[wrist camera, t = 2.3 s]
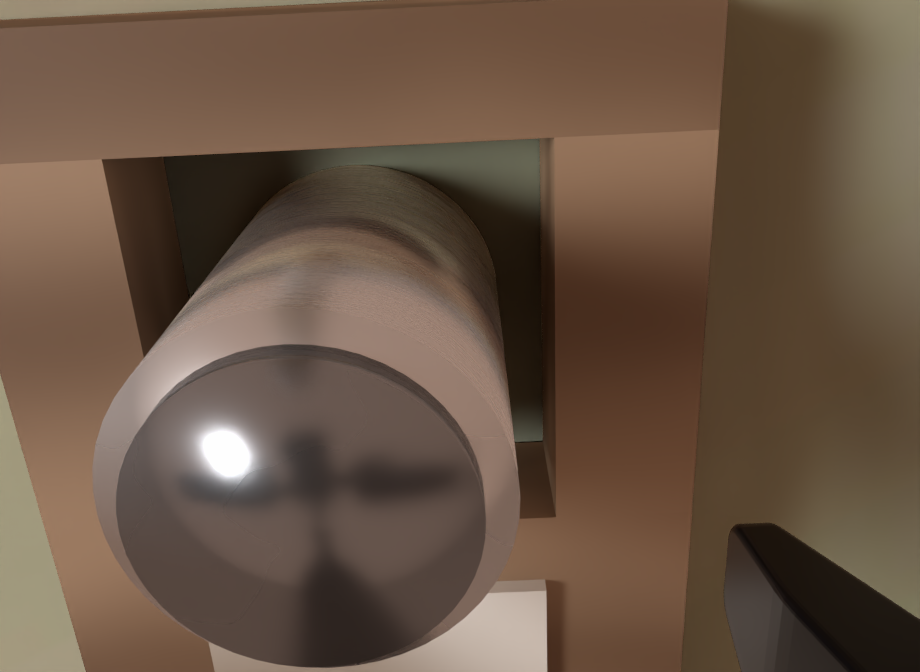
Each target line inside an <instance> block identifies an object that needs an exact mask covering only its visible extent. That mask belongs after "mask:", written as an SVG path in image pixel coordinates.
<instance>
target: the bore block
mask: <svg viewBox="0 0 920 672" xmlns="http://www.w3.org/2000/svg"><path fill="white" fill-rule="evenodd" d="M727 13H728V0H384V1H364V2H344V3H325V4H305V5H286V6H266V7H246V8H227V9H207V10H187V11H168V12H148V13H128V14H109V15H89V16H70V17H50V18H30V19H11V20H0V374H1V378H2V381H3V385H4V388H5V392H6V395H7V399H8V402H9V406H10V409H11V413H12V416H13V420H14V423H15V427H16V430H17V434H18V437H19V440H20V444H21V447H22V451H23V454H24V458H25V461H26V465H27V468H28V472H29V475H30V479H31V482H32V486H33V489H34V493H35V496H36V500H37V503H38V506H39V510H40V513H41V517H42V520H43V524H44V527H45V531H46V534H47V538H48V541H49V545H50V548H51V552H52V555H53V559H54V562H55V566H56V569H57V572H58V576H59V579H60V583H61V586H62V590H63V593H64V597H65V600H66V604H67V607H68V611H69V614H70V618H71V621H72V625H73V628H74V632H75V635H76V638H77V642H78V645H79V649H80V652H81V656H82V659H83V663H84V666H85V670H86V672H681V662H682V648H683V634H684V619H685V605H686V591H687V577H688V563H689V549H690V535H691V521H692V507H693V492H694V478H695V464H696V450H697V436H698V422H699V408H700V394H701V380H702V366H703V351H704V337H705V323H706V309H707V295H708V281H709V267H710V253H711V239H712V225H713V210H714V196H715V182H716V168H717V154H718V140H719V126H720V112H721V98H722V83H723V69H724V55H725V41H726V27H727ZM536 138H540V222H541V315H542V407H543V442H528V443H515V451H516V459H517V468H518V477H519V487H520V515H519V524H518V528H517V533H516V538H515V542H514V545H513V548H512V550H511V553H510V556H509V558H508V561H507V564H506V565H505V567H504V569H503V571H502V573H501V574H500V576H499V578H498V580H497V581H496V583H495V585H494V586H493V587H492V589H491V590H490V591H489V592H488V594H487V595H486V596H485V598H484V599H483V600H482V602H481V603H480V604H479V605H478V606H477V607H476V608H475V609H473V610H472V611H471V612H470V613H469V614H468V615H467V616H466V617H465V618H464V619H463V620H462V621H460V622H459V623H458V624H456V625H455V626H454V627H452V628H451V629H450V630H448V631H447V632H446V633H444V634H442V635H440V636H439V637H437V638H435V639H434V640H432V641H430V642H428V643H427V644H425V645H422V646H420V647H418V648H415V649H413V650H411V651H409V652H406V653H404V654H401V655H398V656H394V657H391V658H388V659H385V660H381V661H377V662H372V663H367V664H361V665H356V666H346V667H334V668H305V667H295V666H286V665H278V664H273V663H268V662H263V661H259V660H255V659H252V658H248V657H245V656H242V655H239V654H236V653H233V652H230V651H228V650H226V649H223V648H221V647H219V646H217V645H214V644H212V643H210V642H207V641H206V640H204V639H202V638H200V637H198V636H197V635H195V634H193V633H191V632H190V631H188V630H186V629H184V628H183V627H182V626H180V625H179V624H177V623H176V622H175V621H173V620H172V619H170V618H169V617H168V616H166V615H165V614H164V613H162V612H161V611H160V610H159V609H158V608H157V607H156V606H155V605H154V604H152V603H151V602H150V601H149V600H148V599H147V598H146V597H145V596H144V595H143V594H142V593H141V592H140V590H139V589H138V588H137V587H136V586H135V585H134V584H133V582H132V581H131V580H130V579H129V578H128V576H127V575H126V573H125V572H124V570H123V569H122V567H121V566H120V564H119V563H118V561H117V560H116V558H115V556H114V554H113V552H112V550H111V548H110V546H109V544H108V543H107V541H106V539H105V536H104V533H103V530H102V527H101V524H100V521H99V518H98V515H97V511H96V505H95V500H94V494H93V472H92V466H93V459H94V452H95V445H96V441H97V438H98V434H99V431H100V428H101V425H102V421H103V419H104V417H105V415H106V413H107V411H108V409H109V407H110V405H111V403H112V401H113V399H114V397H115V396H116V394H117V393H118V392H119V390H120V389H121V388H122V386H123V385H124V383H125V382H126V381H127V379H128V378H129V376H130V375H131V374H132V373H133V371H134V370H135V369H136V367H137V366H138V365H139V364H140V362H141V361H142V360H143V358H144V357H145V356H146V355H147V353H148V352H149V351H150V350H151V348H152V347H153V346H154V344H155V343H156V342H157V341H158V339H159V338H160V337H161V335H162V334H163V333H164V332H165V330H166V329H167V328H168V326H169V325H170V324H171V323H172V321H173V320H174V319H175V317H176V316H177V315H178V314H179V312H180V311H181V310H182V308H183V307H184V306H185V305H186V303H187V302H188V301H189V296H188V291H187V285H186V280H185V274H184V269H183V263H182V258H181V253H180V247H179V242H178V236H177V231H176V225H175V220H174V215H173V209H172V204H171V198H170V193H169V187H168V182H167V177H166V171H165V166H164V160H163V156H183V155H203V154H224V153H245V152H266V151H287V150H307V149H328V148H349V147H370V146H390V145H411V144H432V143H453V142H474V141H494V140H515V139H536Z"/></svg>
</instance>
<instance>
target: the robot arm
mask: <svg viewBox="0 0 920 672" xmlns="http://www.w3.org/2000/svg"><path fill="white" fill-rule="evenodd" d="M724 604H725V611H726V615H727V619H728V623H729V627H730V631H731V634H732V638H733V642H734V646H735V650H736V653H737V657H738V661H739V665H740V669H741V672H920V619H918V618H917V617H915V616H914V615H912V614H911V613H909V612H908V611H906V610H905V609H903V608H902V607H900V606H899V605H897V604H896V603H894V602H893V601H891V600H890V599H888V598H887V597H885V596H883V595H882V594H880V593H879V592H877V591H876V590H874V589H873V588H871V587H870V586H868V585H867V584H865V583H864V582H862V581H861V580H859V579H858V578H856V577H855V576H853V575H852V574H850V573H849V572H847V571H846V570H844V569H843V568H841V567H840V566H838V565H837V564H835V563H834V562H832V561H831V560H829V559H828V558H826V557H824V556H823V555H821V554H820V553H818V552H817V551H815V550H814V549H812V548H811V547H809V546H808V545H806V544H805V543H803V542H802V541H800V540H799V539H797V538H796V537H794V536H793V535H791V534H790V533H788V532H787V531H785V530H784V529H782V528H781V527H779V526H777V525H775V524H772V523H753V524H737V525H735V526H734V527H733V528H732V529H731V531H730V534H729V539H728V549H727V560H726V571H725V582H724Z"/></svg>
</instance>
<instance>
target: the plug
mask: <svg viewBox="0 0 920 672" xmlns="http://www.w3.org/2000/svg"><path fill="white" fill-rule="evenodd" d="M92 472H93V494H94V500H95V505H96V511H97V515H98V518H99V521H100V524H101V527H102V530H103V533H104V536H105V539H106V541H107V543H108V544H109V546H110V548H111V550H112V552H113V554H114V556H115V558H116V560H117V561H118V563H119V564H120V566H121V567H122V569H123V570H124V572H125V573H126V575H127V576H128V578H129V579H130V580H131V581H132V582H133V584H134V585H135V586H136V587H137V588H138V589H139V590H140V592H141V593H142V594H143V595H144V596H145V597H146V598H147V599H148V600H149V601H150V602H151V603H152V604H154V605H155V606H156V607H157V608H158V609H159V610H160V611H161V612H162V613H164V614H165V615H166V616H168V617H169V618H170V619H172V620H173V621H175V622H176V623H177V624H179V625H180V626H182V627H183V628H184V629H186V630H188V631H190V632H191V633H193V634H195V635H197V636H198V637H200V638H202V639H204V640H206V641H207V642H210V643H212V644H214V645H217V646H219V647H221V648H223V649H226V650H228V651H230V652H233V653H236V654H239V655H242V656H245V657H248V658H252V659H255V660H259V661H263V662H268V663H273V664H278V665H286V666H295V667H305V668H334V667H346V666H356V665H361V664H367V663H372V662H377V661H381V660H385V659H388V658H391V657H394V656H398V655H401V654H404V653H406V652H409V651H411V650H413V649H415V648H418V647H420V646H422V645H425V644H427V643H428V642H430V641H432V640H434V639H435V638H437V637H439V636H440V635H442V634H444V633H446V632H447V631H448V630H450V629H451V628H452V627H454V626H455V625H456V624H458V623H459V622H460V621H462V620H463V619H464V618H465V617H466V616H467V615H468V614H469V613H470V612H471V611H472V610H473V609H475V608H476V607H477V606H478V605H479V604H480V603H481V602H482V600H483V599H484V598H485V596H486V595H487V594H488V592H489V591H490V590H491V589H492V587H493V586H494V585H495V583H496V581H497V580H498V578H499V576H500V574H501V573H502V571H503V569H504V567H505V565H506V564H507V561H508V558H509V556H510V553H511V550H512V548H513V545H514V542H515V538H516V533H517V528H518V524H519V515H520V487H519V477H518V468H517V459H516V451H515V442H514V433H513V424H512V416H511V407H510V398H509V389H508V381H507V372H506V363H505V354H504V346H503V337H502V328H501V319H500V311H499V302H498V293H497V284H496V275H495V270H494V266H493V262H492V258H491V256H490V253H489V251H488V248H487V246H486V243H485V241H484V239H483V237H482V236H481V234H480V232H479V230H478V229H477V227H476V226H475V224H474V223H473V222H472V220H471V219H470V218H469V216H468V215H467V214H466V213H465V212H464V210H463V209H462V208H461V207H460V206H459V205H458V204H457V203H456V202H455V201H454V200H452V199H451V198H450V197H448V196H447V195H446V194H445V193H443V192H442V191H441V190H439V189H438V188H436V187H434V186H433V185H431V184H429V183H428V182H426V181H424V180H422V179H420V178H417V177H415V176H413V175H410V174H408V173H405V172H401V171H398V170H394V169H391V168H386V167H379V166H372V165H348V166H339V167H333V168H329V169H325V170H321V171H317V172H314V173H312V174H309V175H307V176H304V177H302V178H300V179H298V180H296V181H294V182H293V183H291V184H289V185H287V186H286V187H284V188H283V189H282V190H280V191H279V192H278V193H276V194H275V195H274V196H273V197H271V198H270V199H269V200H268V201H267V202H266V204H265V205H264V206H263V207H262V208H261V209H260V210H259V211H258V212H257V214H256V215H255V216H254V217H253V219H252V220H251V221H250V223H249V224H248V225H247V226H246V228H245V229H244V230H243V232H242V233H241V234H240V235H239V237H238V238H237V239H236V241H235V242H234V243H233V244H232V246H231V247H230V248H229V249H228V251H227V252H226V253H225V255H224V256H223V257H222V258H221V260H220V261H219V262H218V264H217V265H216V266H215V267H214V269H213V270H212V271H211V273H210V274H209V275H208V276H207V278H206V279H205V280H204V282H203V283H202V284H201V285H200V287H199V288H198V289H197V291H196V292H195V293H194V294H193V296H192V297H191V298H190V300H189V301H188V302H187V303H186V305H185V306H184V307H183V308H182V310H181V311H180V312H179V314H178V315H177V316H176V317H175V319H174V320H173V321H172V323H171V324H170V325H169V326H168V328H167V329H166V330H165V332H164V333H163V334H162V335H161V337H160V338H159V339H158V341H157V342H156V343H155V344H154V346H153V347H152V348H151V350H150V351H149V352H148V353H147V355H146V356H145V357H144V358H143V360H142V361H141V362H140V364H139V365H138V366H137V367H136V369H135V370H134V371H133V373H132V374H131V375H130V376H129V378H128V379H127V381H126V382H125V383H124V385H123V386H122V388H121V389H120V390H119V392H118V393H117V394H116V396H115V397H114V399H113V401H112V403H111V405H110V407H109V409H108V411H107V413H106V415H105V417H104V419H103V421H102V425H101V428H100V431H99V434H98V438H97V441H96V445H95V452H94V459H93V466H92Z"/></svg>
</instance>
